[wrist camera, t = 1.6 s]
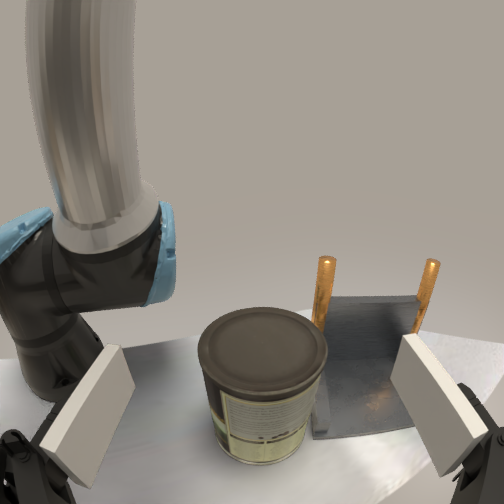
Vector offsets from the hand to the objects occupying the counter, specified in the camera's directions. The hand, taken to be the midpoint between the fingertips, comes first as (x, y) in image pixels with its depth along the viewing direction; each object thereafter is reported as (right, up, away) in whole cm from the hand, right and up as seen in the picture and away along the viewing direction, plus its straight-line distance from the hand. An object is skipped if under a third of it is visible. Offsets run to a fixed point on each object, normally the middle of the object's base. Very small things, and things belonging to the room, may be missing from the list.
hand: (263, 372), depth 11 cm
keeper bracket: (+15, -13, +19) cm, 27 cm away
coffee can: (0, -15, +15) cm, 21 cm away
